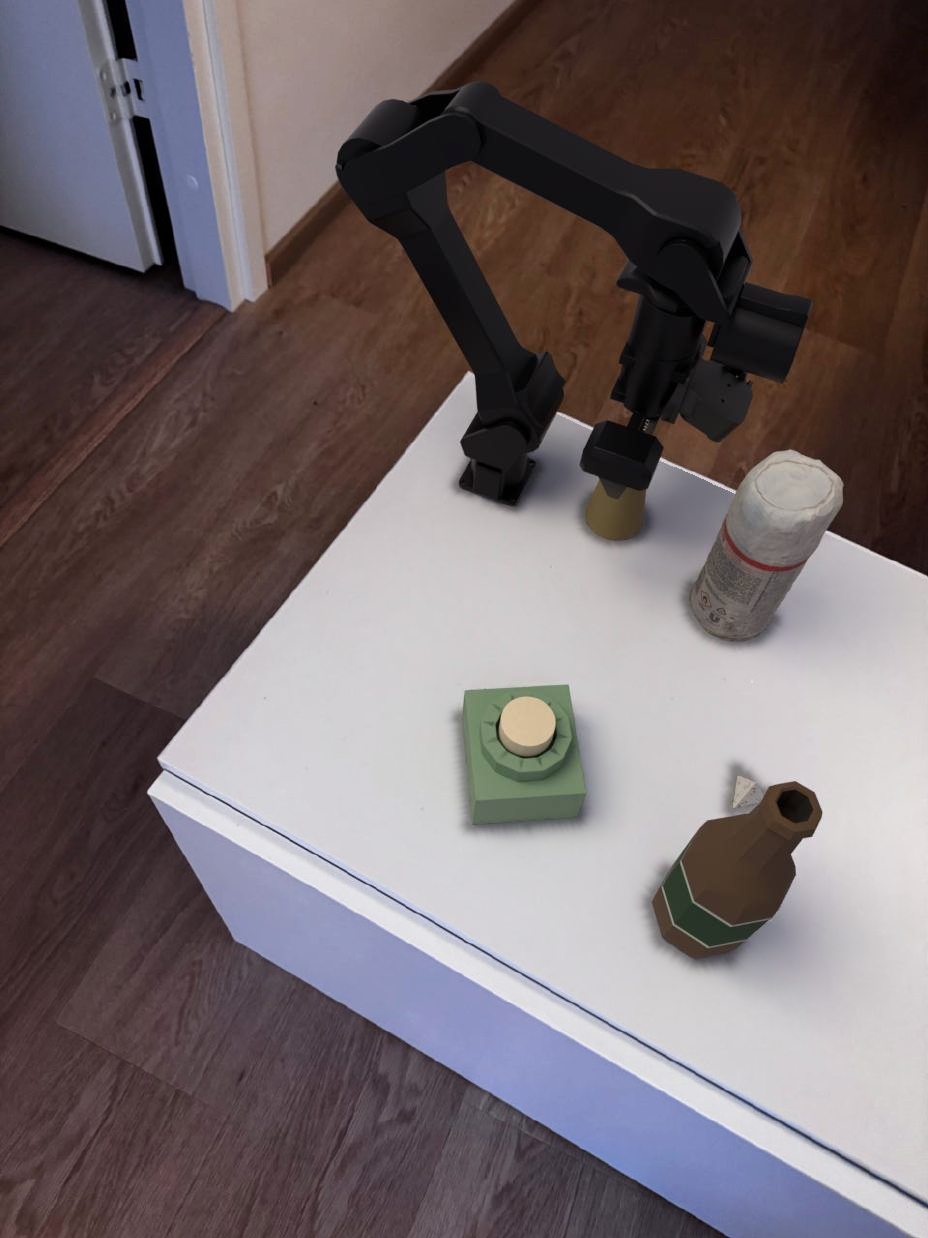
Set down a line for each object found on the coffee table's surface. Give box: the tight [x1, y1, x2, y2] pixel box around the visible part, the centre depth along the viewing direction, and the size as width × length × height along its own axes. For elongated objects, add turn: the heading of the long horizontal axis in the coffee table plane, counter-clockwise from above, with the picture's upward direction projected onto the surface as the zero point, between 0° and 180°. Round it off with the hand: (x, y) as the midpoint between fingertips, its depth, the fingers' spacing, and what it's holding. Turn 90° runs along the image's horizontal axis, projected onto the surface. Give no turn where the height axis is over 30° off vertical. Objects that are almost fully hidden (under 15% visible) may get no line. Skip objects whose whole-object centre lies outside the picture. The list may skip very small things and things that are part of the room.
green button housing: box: [461, 684, 587, 825], centre depth 82 cm, size 10×9×8 cm
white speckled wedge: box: [732, 775, 765, 809], centre depth 84 cm, size 4×3×3 cm
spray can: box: [688, 449, 845, 642], centre depth 86 cm, size 8×8×20 cm
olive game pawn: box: [584, 478, 647, 541], centre depth 96 cm, size 6×6×11 cm
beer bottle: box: [651, 780, 823, 960], centre depth 69 cm, size 8×8×24 cm
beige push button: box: [499, 697, 556, 757], centre depth 78 cm, size 4×4×2 cm
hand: (628, 462), depth 93 cm, fingers open, 9 cm apart
